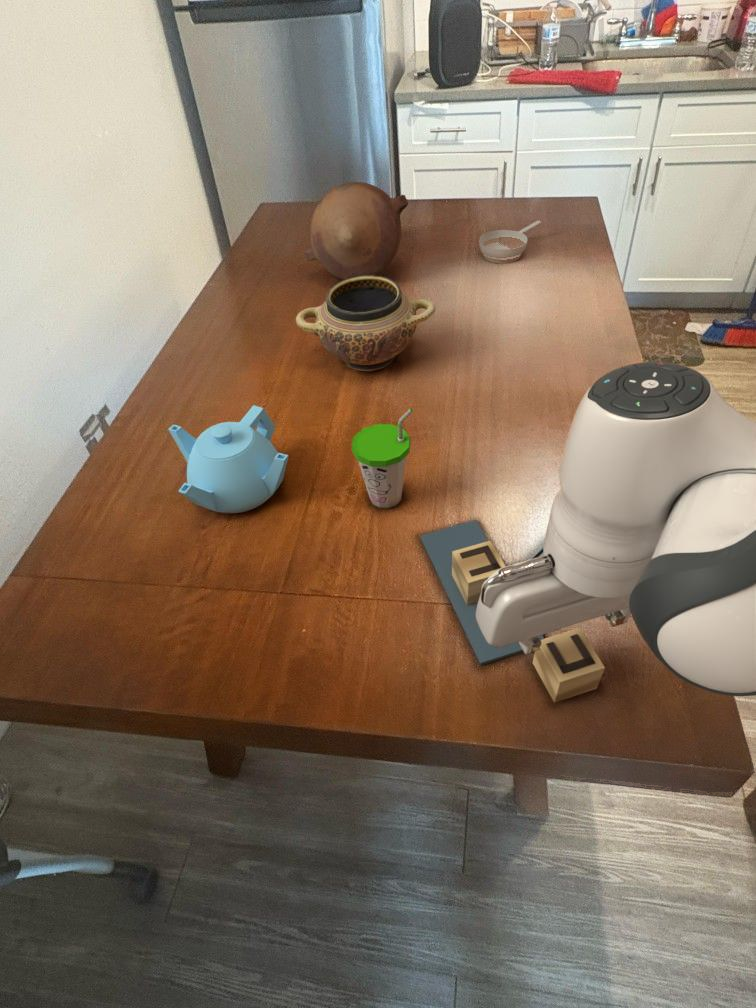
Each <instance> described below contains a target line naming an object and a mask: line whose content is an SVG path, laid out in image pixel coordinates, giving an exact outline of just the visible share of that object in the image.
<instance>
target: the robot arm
mask: <svg viewBox="0 0 756 1008" xmlns="http://www.w3.org/2000/svg"><path fill="white" fill-rule="evenodd" d="M559 465H560V466H559V472H558V478H559V479H558V480H559V485H560V489H559V490H558V491H557V493H556V494H555V496H554V499H553V500H552V503H551V506H550V507H551V508H550V513H549V518H548V522H547V526H546V532H545V536H544V540H543V545H544V546H543V545H542V546H543V553H544V556H541V557H537V558H534V559H530V558H529V559H530V560H529V559H528V560H523V561H520V562H516V563H513V564H510V565H505V566H506V567H503V568H501V569H499V570H497V571H495V572H494V573H493V574H491V575H490V576H489V578H488V579H487V580H486V581H485V582H484V583H483V585H482V590H481V594H480V597H479V601H478V605H477V609H476V620H477V623H478V625H479V628H480V630H481V632H482V634H483V636H484V638H485V639H486V641H487V642H488V643H489V644H490V645H492V646H494V647H497V648H499V647H503V646H506V645H509V644H513V643H516V642H519V644H520V646H521V648H522V650H523V652H522V653H524V654H525V655H528V654H531V653H535V651H538V650H540V646H541V643H542V642H541V640H540V638H539V637H538V636H539V635H545V634H548V633H551V632H554V631H558V630H561V629H565V628H568V627H571V626H574V625H579V624H581V623H584V622H587V621H591V620H593V619H597V618H600V617H603V616H604V617H605V619H606V620H607V621H609V625H610V627H614V628H615V627H618V626H620V625H625V624H627V623H628V621H629V618H630V616H631V618H632V619H633V621H634V624H635V626H636V628H637V630H638V632H639V634H640V636H641V637H642V639H643V641H644V642H645V644H646V645H647V647H648V648H649V649H650V651H651V652H652V654H653V655H654V656H655V657H656V659H658V661H659V662H660V663H661V664H662V665H663V666H664V667H665V668H666V669H667V670H668V671H669V672H670V673H672V674H673V675H674V676H675V677H677V678H679V679H680V680H682V681H684V682H685V683H686V684H689V685H691V686H693V687H695V688H697V689H701V690H703V691H706V692H710V693H713V694H717V695H721V696H722V695H723V696H729V697H753V696H756V421H755V420H753V419H752V418H750V417H748V416H747V415H745V414H743V413H742V412H740V411H739V410H737V409H736V408H735V407H733V406H732V405H731V404H730V403H728V401H726V399H724V398H723V397H722V395H721V394H720V393H719V391H718V390H717V388H716V387H715V385H714V384H713V382H712V381H711V380H710V379H709V378H708V377H706V376H705V375H704V374H702V373H701V372H700V371H698V370H696V369H693V368H691V367H688V366H686V365H682V364H678V363H673V362H666V361H643V362H636V363H631V364H627V365H624V366H620V367H618V368H615V369H613V370H611V371H609V372H608V373H605V374H604V375H602V376H600V377H599V378H598V379H597V380H596V381H595V382H594V383H593V384H592V385H591V386H590V387H589V388H588V389H587V390H586V392H585V393H584V394H583V396H582V398H581V400H580V402H579V404H578V406H577V409H576V411H575V413H574V416H573V418H572V421H571V424H570V427H569V430H568V433H567V437H566V440H565V444H564V447H563V453H562V455H561V459H560V464H559Z"/></svg>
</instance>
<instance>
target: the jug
mask: <svg viewBox="0 0 756 1008" xmlns="http://www.w3.org/2000/svg"><path fill="white" fill-rule="evenodd" d="M408 205H409V201H408V198H407V197H406V194H400V195H398V196H396V197H391V196H390V195H389V194H388V193H386V191H384V190H383V189H382V188H381V187H378V186H376V185H373V184H371V183H368V182H364V181H347V182H344V183H341V184H338V185H336V186H335V187H333V188H331V189H330V190H329V191H328V192H326V194H324V195H323V197H322V198H321V200H320V202H319V203H318V204H317V206H316V208H315V209H314V212H313V214H312V218H311V223H310V243H311V244H310V246H309V248H308V249H307V250H304V254H305V258H306V259H307V262H312V261H317V262H318V263H320V265H321V266H322V267H323V268H324V269H325V270H326V271H327V272H328V273H329V274H330V275H332V276H333V277H335V278H337V279H339V280H340V281H343V280H345V279H349V278H352V277H357V276H363V275H374V276H382V275H383V274H384V273H385V272H386V271H388V269H389V268H390V267H391V265H392V264H393V262H394V260H395V258H396V256H397V253H398V251H399V249H400V245H401V241H402V222H401V214H402V212H403V211H404V210H405V209H406V208H407V207H408Z"/></svg>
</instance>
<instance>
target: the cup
mask: <svg viewBox="0 0 756 1008" xmlns="http://www.w3.org/2000/svg"><path fill="white" fill-rule="evenodd" d="M413 412H414V410H413V409H412V408H411V407H409V409H407V411H406V412H405V413H404V414H403V415H402V416H400V418H398V421H397V425H396V424H392V423H375V424H372V425H369V426H366V427H363V428H362V429H360V430H359V431H358V432H357V433H356V434H355V435H354V436H353V437H352V441H351V452H352V454H353V455H354V457H355V459H356V460H357V463H358V465H359V469H360V472H361V475H362V478H363V481H364V484H365V488H366V491H367V495H368V497H369V500H370V502H371V504H372V505H373V506H375V507H377V508H379V509H391V508H393V507H396V506H398V505H399V503H400V502H401V501H402V496H403V487H404V480H405V479H404V477H405V470H406V463H407V462H406V461H407V456H408V455H409V454H410V451H411V443H412V442H411V437H410V435H409V434H408V432H407V431H406V430H405V429H404V428H403V423H404V421H405V420H406V419H407V418H408V417H409V416H410V415H411V414H412V413H413Z"/></svg>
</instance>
